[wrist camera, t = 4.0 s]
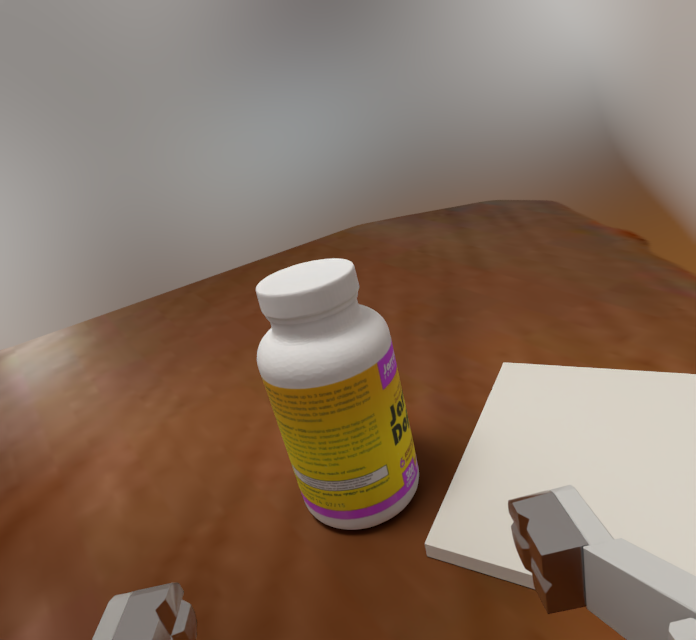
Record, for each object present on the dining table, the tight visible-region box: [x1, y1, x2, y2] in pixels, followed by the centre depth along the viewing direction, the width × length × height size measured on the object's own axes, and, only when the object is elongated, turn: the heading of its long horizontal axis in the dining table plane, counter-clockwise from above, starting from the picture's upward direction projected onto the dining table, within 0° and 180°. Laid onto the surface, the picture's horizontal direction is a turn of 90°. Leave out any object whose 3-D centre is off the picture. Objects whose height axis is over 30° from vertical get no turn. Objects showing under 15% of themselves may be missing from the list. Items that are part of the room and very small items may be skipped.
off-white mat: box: [425, 363, 696, 589], centre depth 24 cm, size 16×12×1 cm
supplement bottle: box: [256, 258, 419, 530], centre depth 23 cm, size 7×7×13 cm
